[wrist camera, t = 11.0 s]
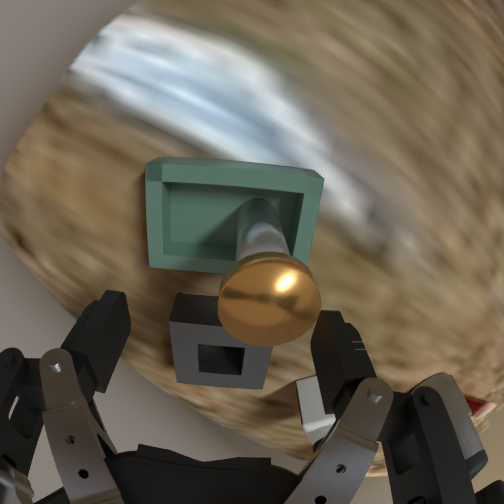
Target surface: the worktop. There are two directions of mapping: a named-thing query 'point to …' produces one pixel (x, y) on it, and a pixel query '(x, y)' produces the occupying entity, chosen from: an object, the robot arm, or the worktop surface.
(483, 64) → the worktop surface
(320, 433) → the medicine bottle
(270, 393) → the worktop surface
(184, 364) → the block
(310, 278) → the brass-capped metal pin
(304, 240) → the tray
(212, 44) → the worktop surface
